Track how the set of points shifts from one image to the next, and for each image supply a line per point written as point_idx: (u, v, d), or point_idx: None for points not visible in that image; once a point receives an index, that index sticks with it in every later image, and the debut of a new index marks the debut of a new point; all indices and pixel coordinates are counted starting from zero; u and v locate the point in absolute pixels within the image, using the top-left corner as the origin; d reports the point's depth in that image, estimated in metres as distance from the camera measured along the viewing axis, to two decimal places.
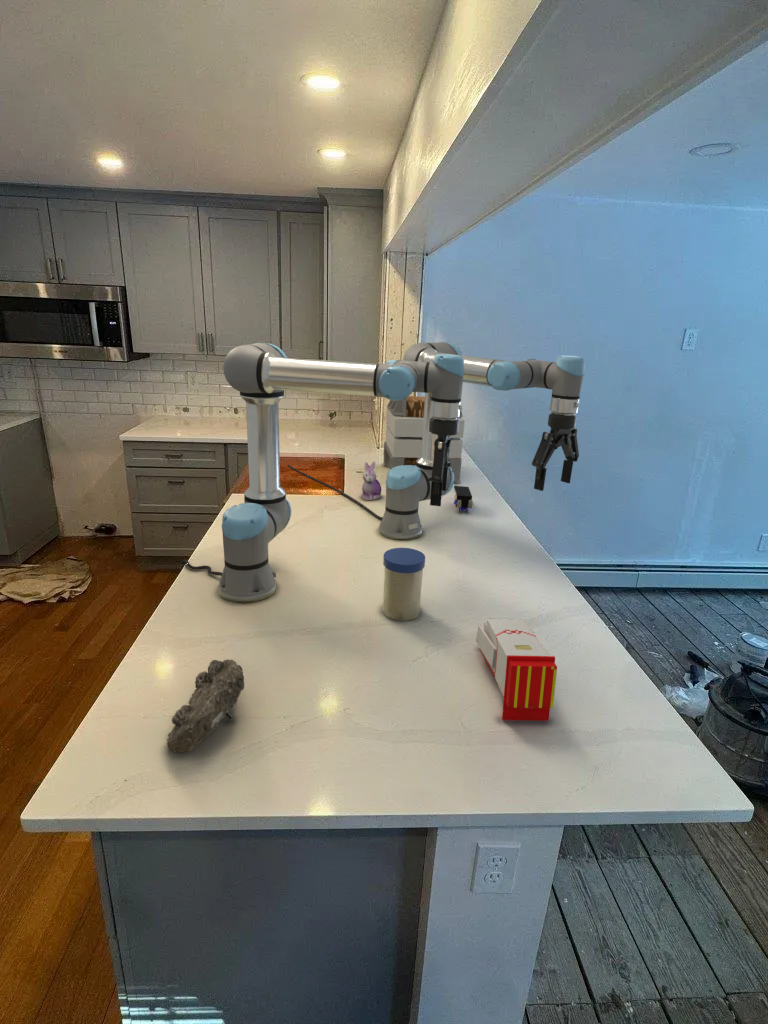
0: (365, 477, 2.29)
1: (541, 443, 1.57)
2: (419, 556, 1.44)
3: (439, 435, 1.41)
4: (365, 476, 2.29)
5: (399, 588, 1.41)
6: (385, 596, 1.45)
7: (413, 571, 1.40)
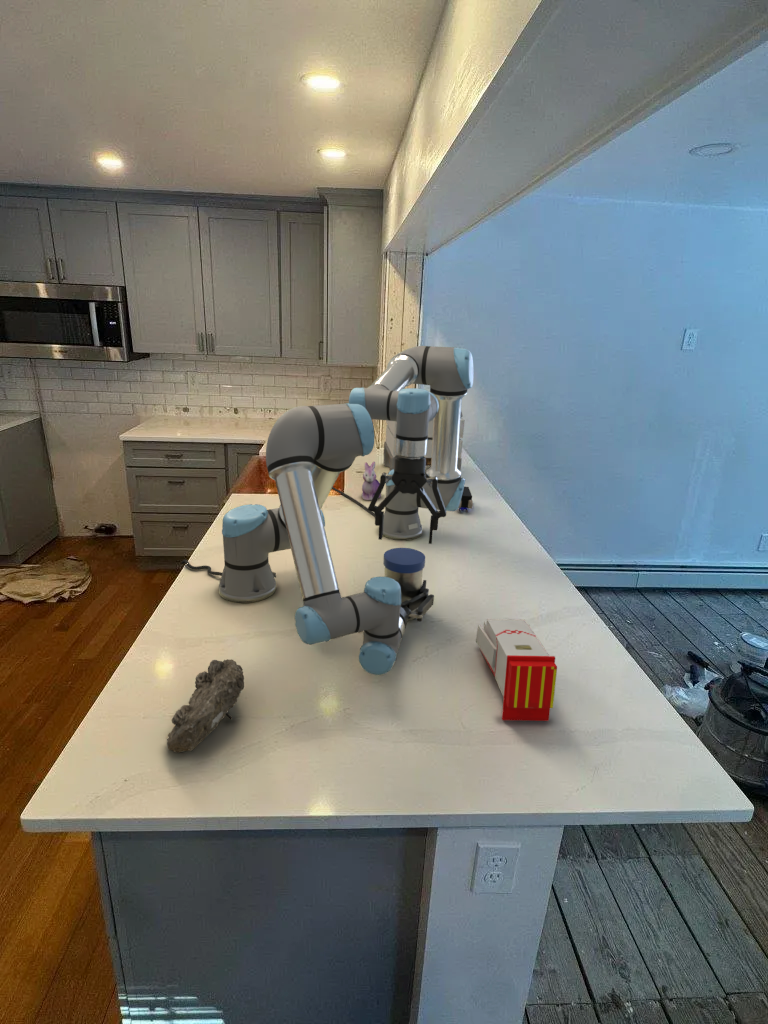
0: (365, 477, 2.29)
1: (438, 491, 1.36)
2: (419, 556, 1.44)
3: None
4: (365, 476, 2.29)
5: None
6: None
7: (413, 571, 1.40)
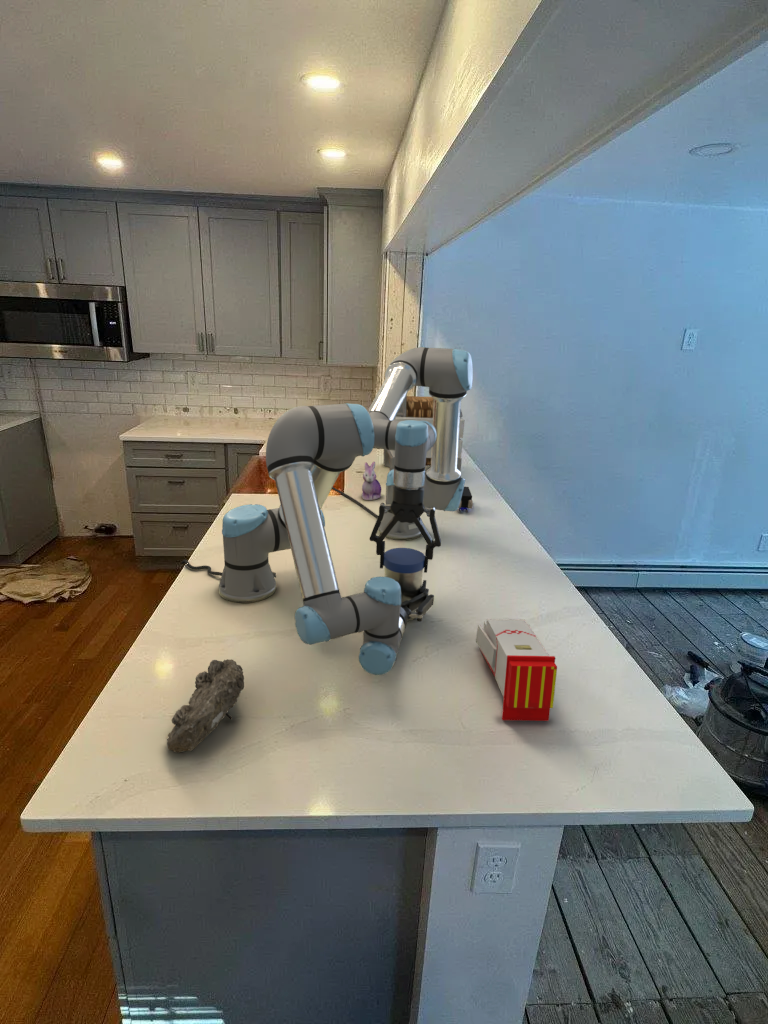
0: (365, 477, 2.29)
1: (435, 522, 1.39)
2: (419, 556, 1.44)
3: None
4: (365, 476, 2.29)
5: None
6: None
7: (413, 571, 1.40)
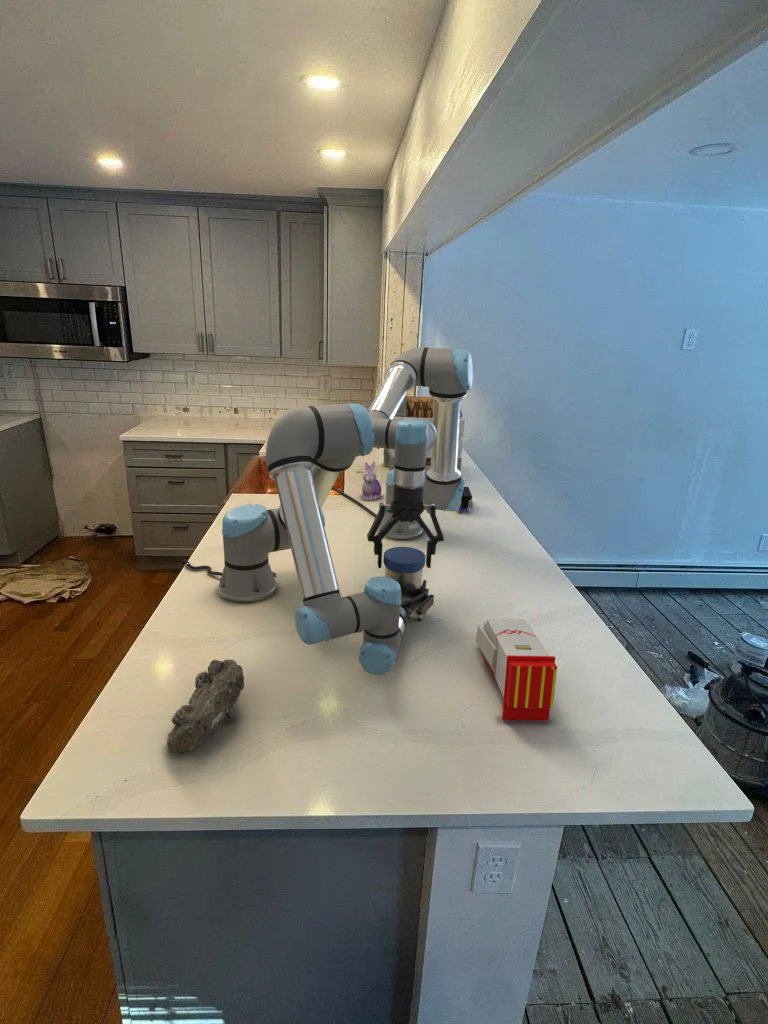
0: (365, 477, 2.29)
1: None
2: (405, 548, 1.47)
3: None
4: (365, 476, 2.29)
5: None
6: None
7: None
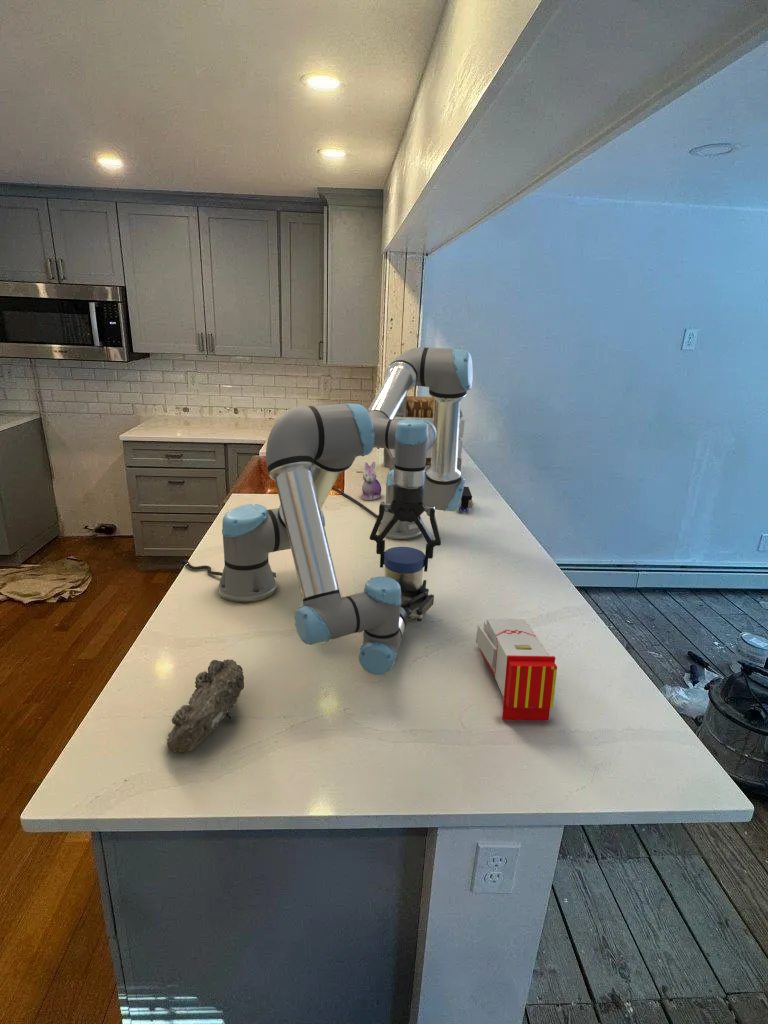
0: (365, 477, 2.29)
1: (435, 521, 1.39)
2: (405, 548, 1.47)
3: None
4: (365, 476, 2.29)
5: None
6: None
7: None
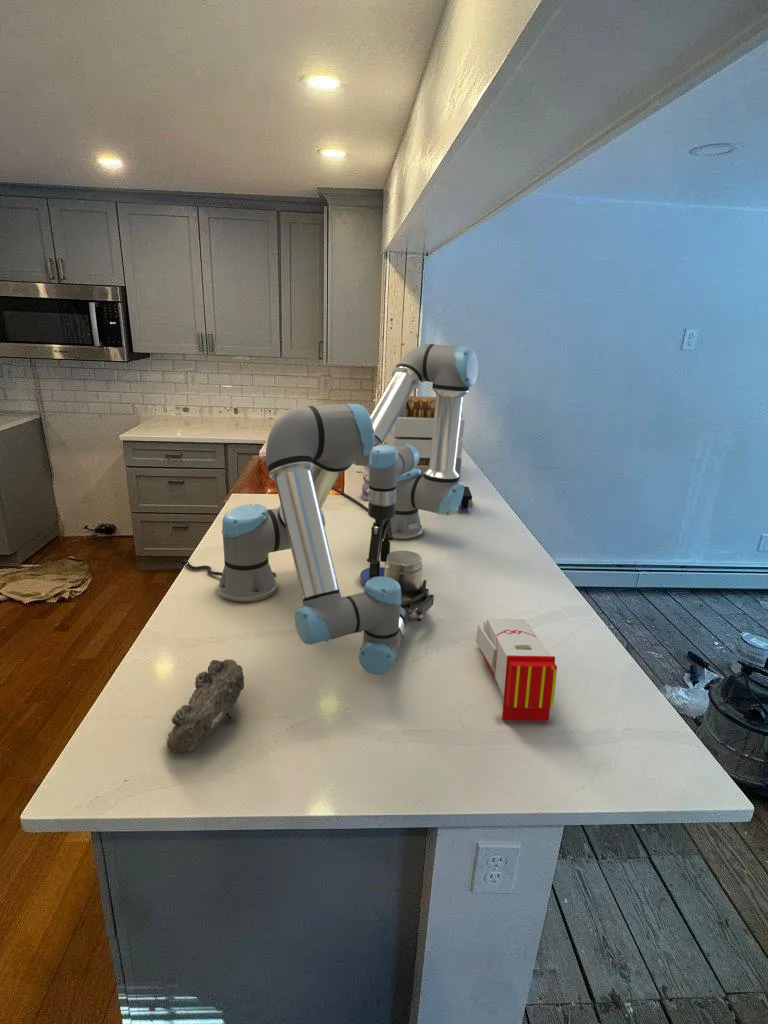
0: (365, 477, 2.29)
1: None
2: (365, 573, 1.64)
3: None
4: (365, 476, 2.29)
5: None
6: None
7: None
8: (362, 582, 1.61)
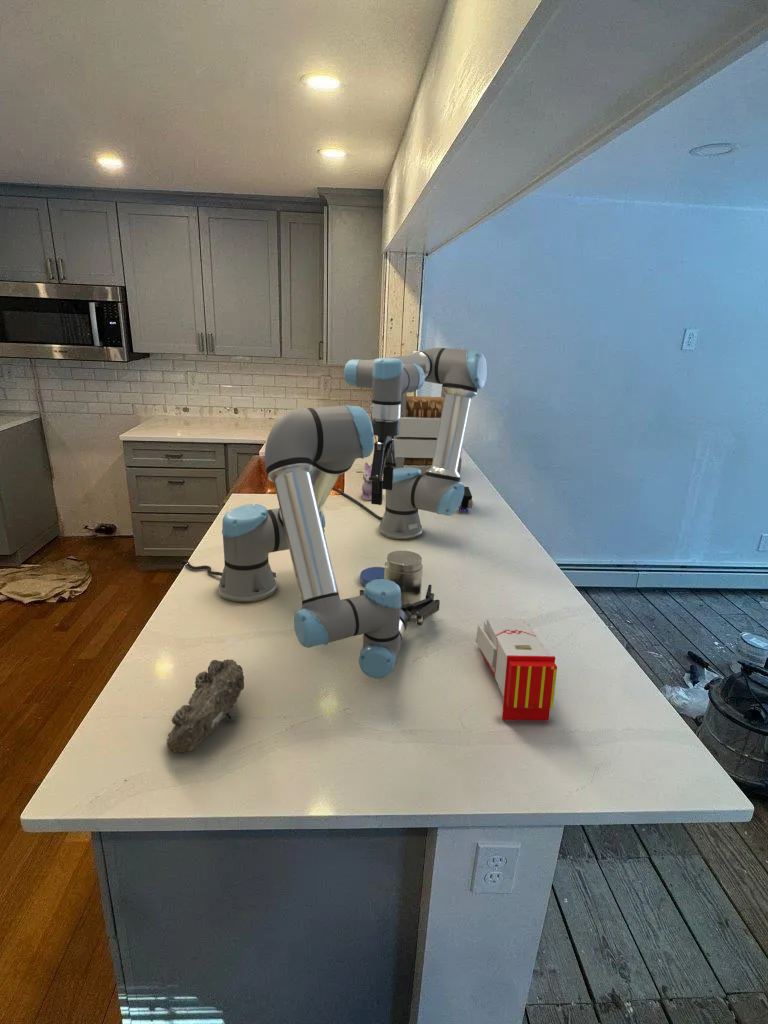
0: (365, 477, 2.29)
1: None
2: (365, 573, 1.64)
3: None
4: (365, 476, 2.29)
5: None
6: None
7: None
8: (362, 582, 1.61)
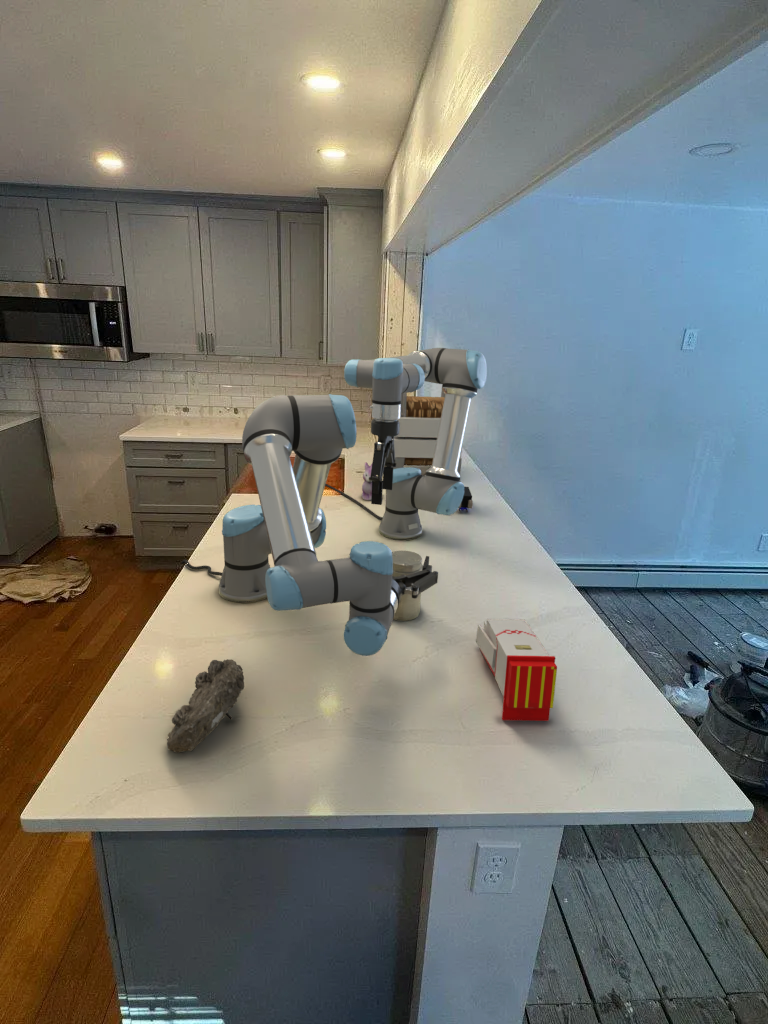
0: (365, 477, 2.29)
1: None
2: None
3: None
4: (365, 476, 2.29)
5: None
6: None
7: None
8: None
